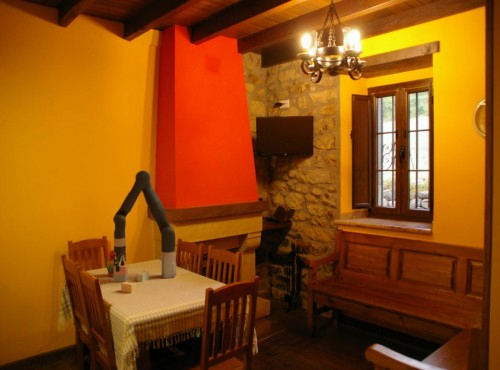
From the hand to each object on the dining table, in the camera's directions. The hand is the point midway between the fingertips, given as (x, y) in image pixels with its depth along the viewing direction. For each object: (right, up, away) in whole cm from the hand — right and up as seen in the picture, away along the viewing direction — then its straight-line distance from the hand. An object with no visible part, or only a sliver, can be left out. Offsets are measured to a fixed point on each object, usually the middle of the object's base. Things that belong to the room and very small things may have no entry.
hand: (120, 270), depth 263 cm
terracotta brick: (0, -2, 0) cm, 2 cm away
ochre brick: (+12, -8, -22) cm, 26 cm away
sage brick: (+14, -7, +3) cm, 16 cm away
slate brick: (0, -7, 0) cm, 7 cm away
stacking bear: (-9, -7, +15) cm, 19 cm away
